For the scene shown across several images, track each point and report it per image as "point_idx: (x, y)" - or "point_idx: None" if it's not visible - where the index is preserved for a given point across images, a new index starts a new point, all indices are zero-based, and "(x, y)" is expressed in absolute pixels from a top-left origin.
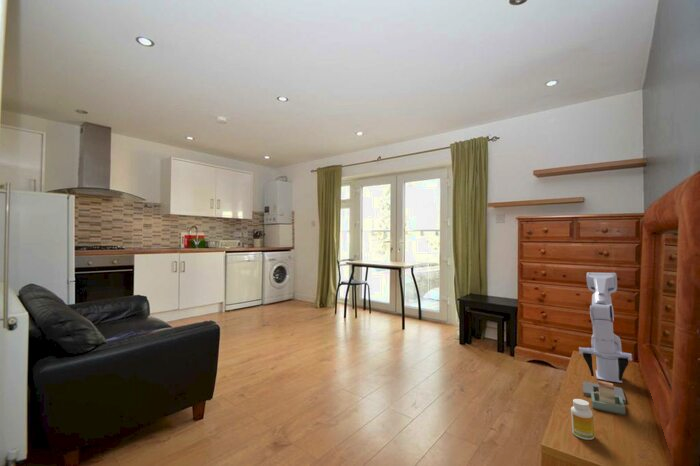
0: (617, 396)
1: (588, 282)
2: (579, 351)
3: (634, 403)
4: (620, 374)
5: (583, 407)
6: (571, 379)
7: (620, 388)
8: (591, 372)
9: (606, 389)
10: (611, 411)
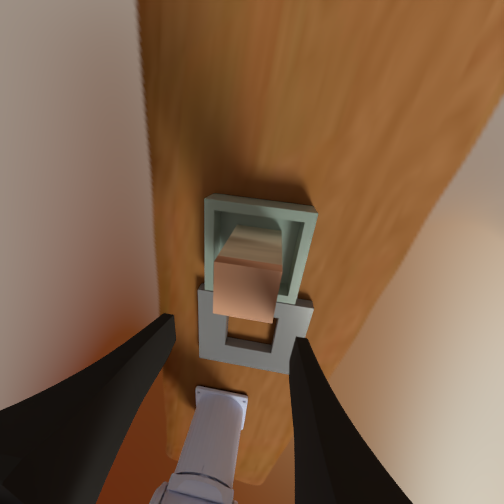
0: None
1: None
2: None
3: (181, 290)
4: (142, 340)
5: None
6: None
7: (202, 354)
8: (311, 356)
9: (250, 258)
10: (253, 198)
